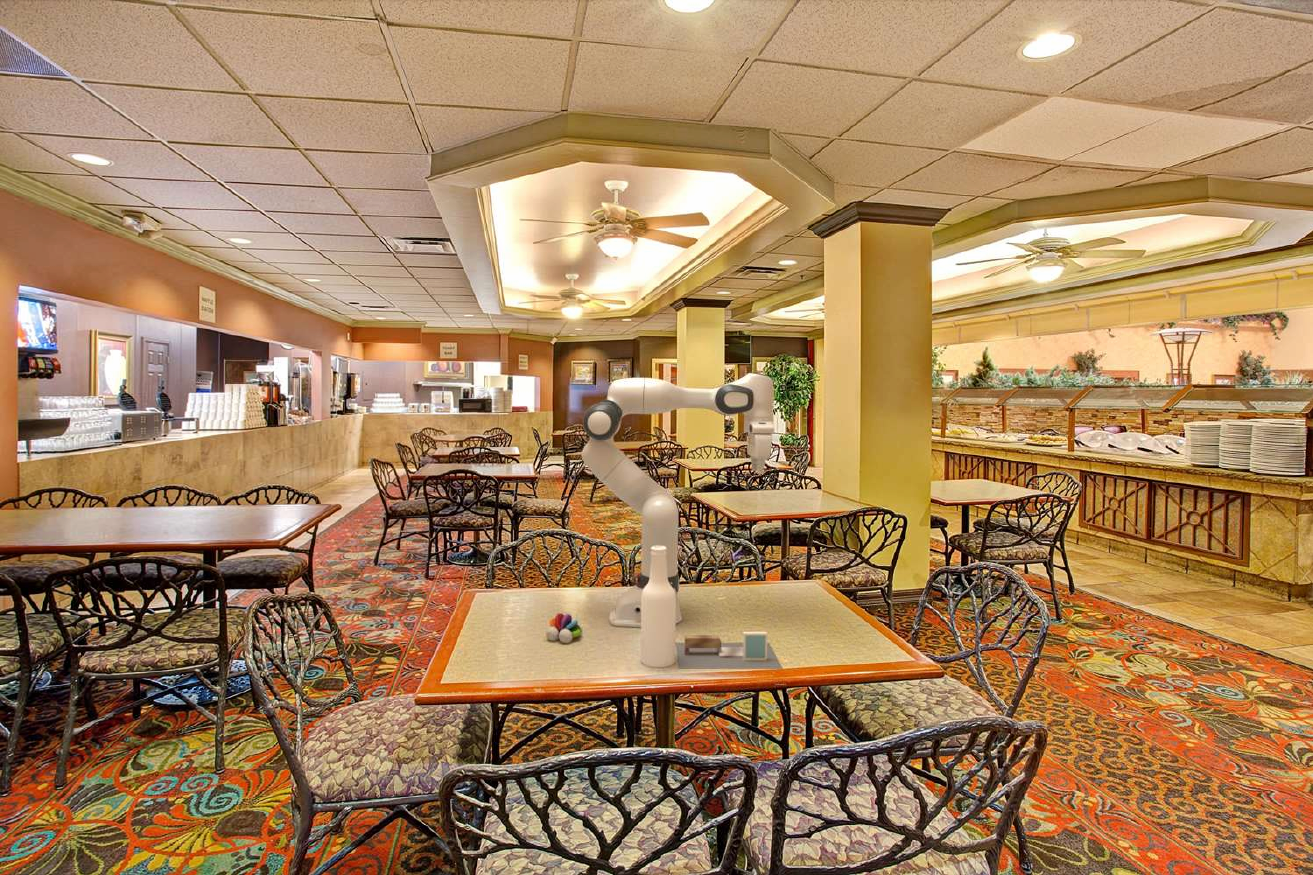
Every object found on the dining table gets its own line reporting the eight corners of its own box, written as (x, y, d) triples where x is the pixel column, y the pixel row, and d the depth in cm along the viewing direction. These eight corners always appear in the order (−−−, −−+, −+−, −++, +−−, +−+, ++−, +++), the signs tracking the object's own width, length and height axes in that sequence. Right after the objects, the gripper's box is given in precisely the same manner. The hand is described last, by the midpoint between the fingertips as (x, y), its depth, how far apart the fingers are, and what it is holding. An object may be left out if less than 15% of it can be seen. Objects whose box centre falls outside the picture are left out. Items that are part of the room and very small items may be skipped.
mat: (678, 670, 163) (678, 668, 163) (675, 644, 181) (675, 642, 181) (782, 670, 163) (782, 668, 163) (769, 644, 181) (769, 642, 181)
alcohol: (668, 654, 173) (669, 542, 172) (680, 667, 165) (681, 549, 164) (636, 658, 171) (637, 544, 169) (646, 671, 162) (647, 551, 161)
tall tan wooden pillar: (685, 657, 170) (685, 640, 170) (684, 649, 176) (684, 632, 176) (746, 657, 170) (746, 640, 170) (743, 649, 176) (743, 632, 176)
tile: (743, 660, 168) (744, 633, 168) (742, 658, 170) (743, 631, 170) (766, 660, 169) (767, 633, 168) (765, 658, 170) (766, 631, 170)
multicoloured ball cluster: (559, 631, 191) (559, 607, 191) (587, 636, 187) (587, 611, 187) (541, 640, 184) (541, 615, 183) (570, 646, 179) (570, 620, 179)
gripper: (742, 425, 209) (742, 468, 210) (753, 427, 189) (752, 475, 189) (762, 425, 209) (761, 468, 210) (775, 427, 189) (774, 475, 190)
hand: (757, 472), depth 200 cm, fingers open, 8 cm apart
